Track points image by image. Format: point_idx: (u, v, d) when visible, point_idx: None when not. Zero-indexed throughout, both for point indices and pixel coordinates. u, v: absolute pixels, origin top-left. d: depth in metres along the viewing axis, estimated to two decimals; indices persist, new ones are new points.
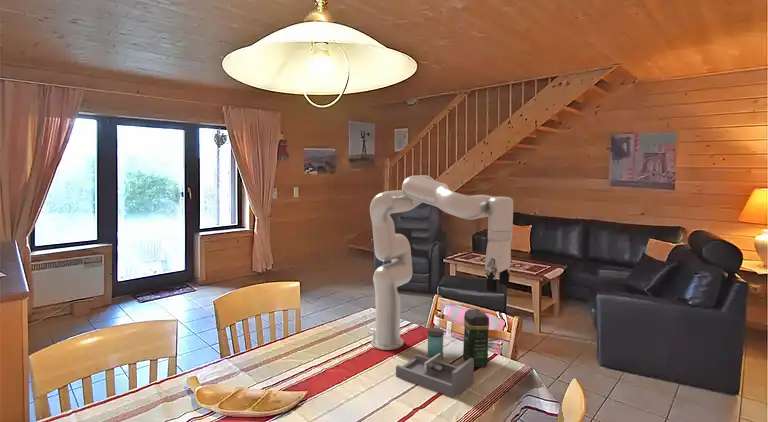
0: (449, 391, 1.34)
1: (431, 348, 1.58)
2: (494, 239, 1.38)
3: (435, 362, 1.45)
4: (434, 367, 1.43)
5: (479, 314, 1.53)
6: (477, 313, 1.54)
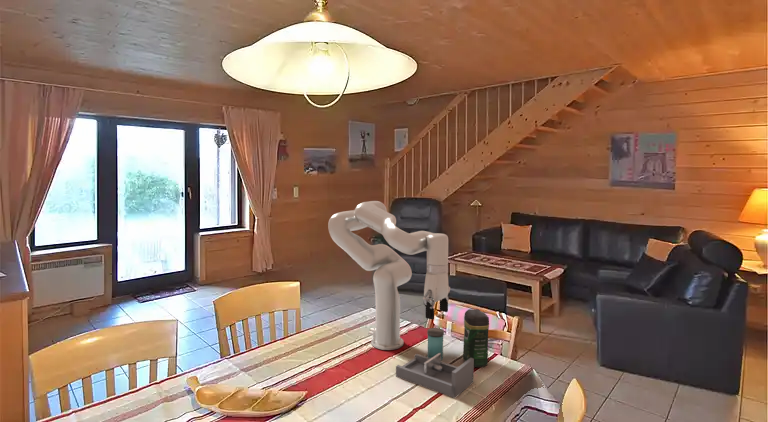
0: (449, 391, 1.34)
1: (431, 348, 1.58)
2: (431, 272, 1.54)
3: (435, 362, 1.45)
4: (434, 367, 1.43)
5: (479, 314, 1.53)
6: (477, 313, 1.54)
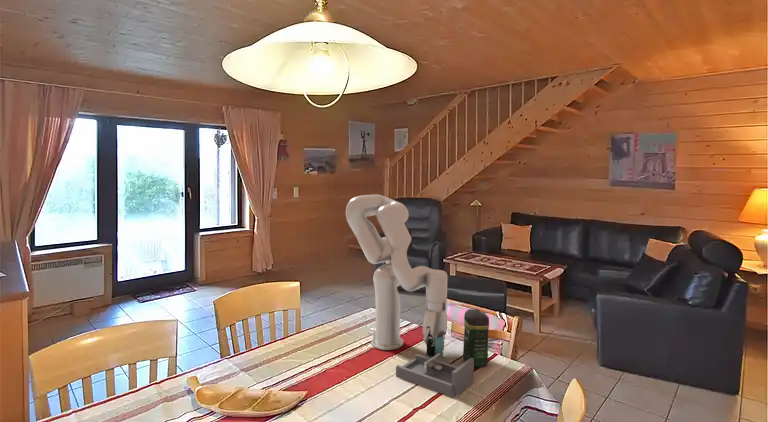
0: (449, 391, 1.34)
1: None
2: (430, 309, 1.56)
3: (435, 362, 1.45)
4: (434, 367, 1.43)
5: (479, 314, 1.53)
6: (477, 313, 1.54)
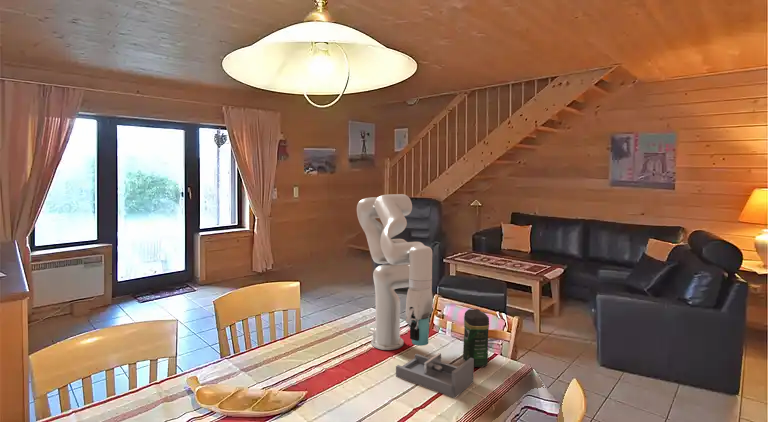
0: (449, 391, 1.34)
1: None
2: (413, 288, 1.42)
3: (435, 362, 1.45)
4: (434, 367, 1.43)
5: (479, 314, 1.53)
6: (477, 313, 1.54)
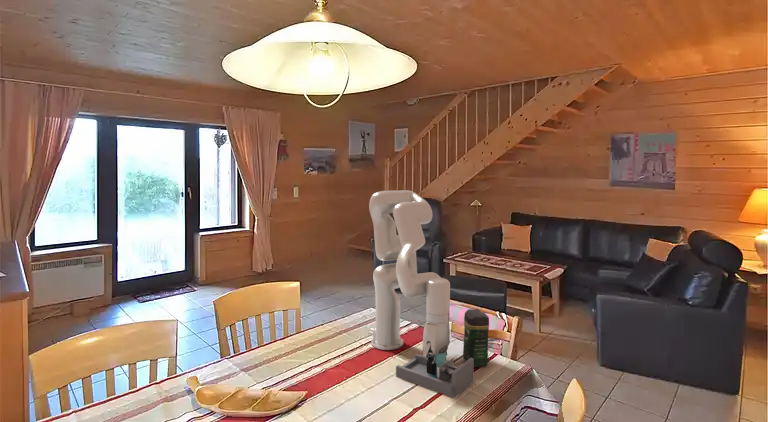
0: (449, 391, 1.34)
1: None
2: (431, 322, 1.39)
3: (448, 366, 1.42)
4: (447, 371, 1.40)
5: (479, 314, 1.53)
6: (477, 313, 1.54)
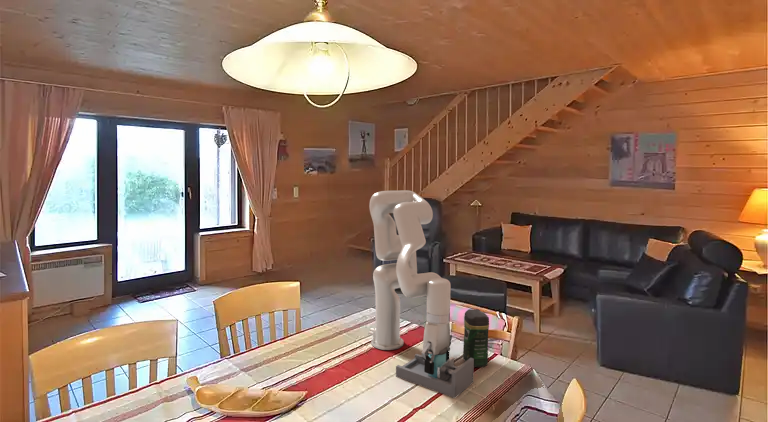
0: (449, 391, 1.34)
1: None
2: (431, 322, 1.39)
3: (448, 366, 1.42)
4: (447, 371, 1.40)
5: (479, 314, 1.53)
6: (477, 313, 1.54)
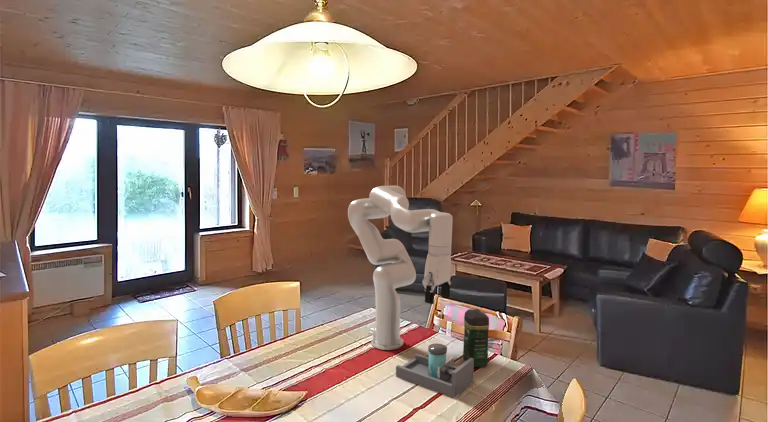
0: (449, 391, 1.34)
1: (432, 366, 1.41)
2: (432, 253, 1.43)
3: (448, 366, 1.42)
4: (447, 371, 1.40)
5: (479, 314, 1.53)
6: (477, 313, 1.54)
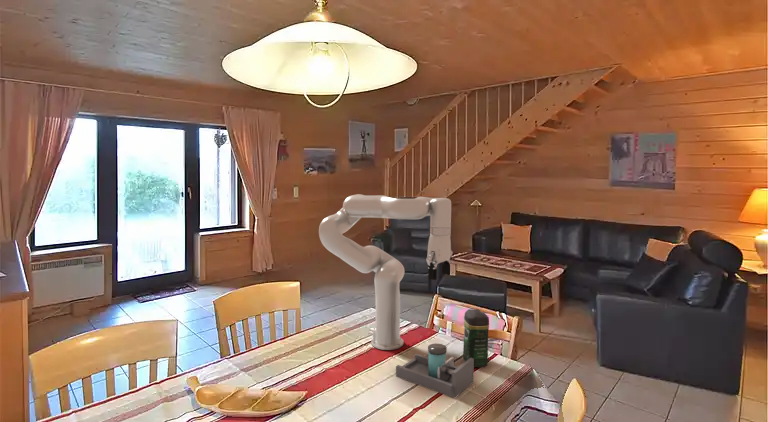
0: (449, 391, 1.34)
1: (432, 366, 1.41)
2: (434, 234, 1.60)
3: (448, 366, 1.42)
4: (447, 371, 1.40)
5: (479, 314, 1.53)
6: (477, 313, 1.54)
